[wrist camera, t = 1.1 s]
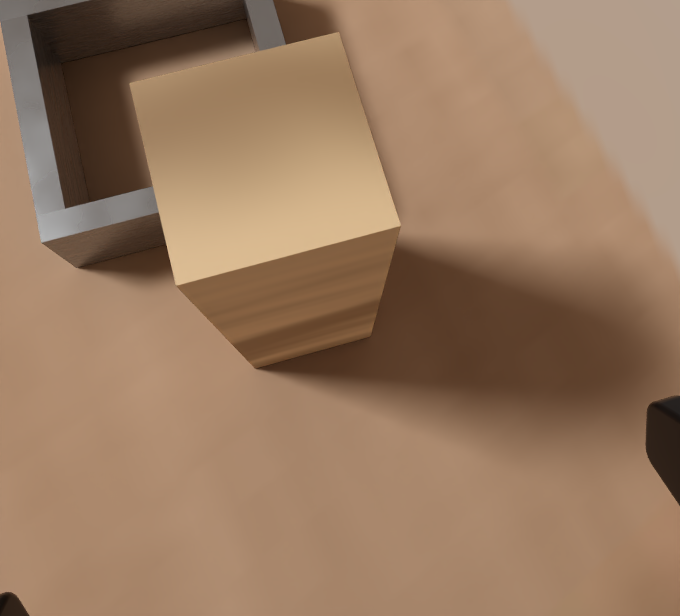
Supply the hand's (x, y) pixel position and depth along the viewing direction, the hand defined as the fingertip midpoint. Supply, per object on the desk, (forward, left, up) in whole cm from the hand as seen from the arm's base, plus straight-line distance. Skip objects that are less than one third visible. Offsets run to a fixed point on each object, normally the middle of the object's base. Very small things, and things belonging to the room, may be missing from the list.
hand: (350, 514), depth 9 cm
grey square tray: (+9, +13, -15) cm, 21 cm away
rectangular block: (+5, +5, -15) cm, 16 cm away
